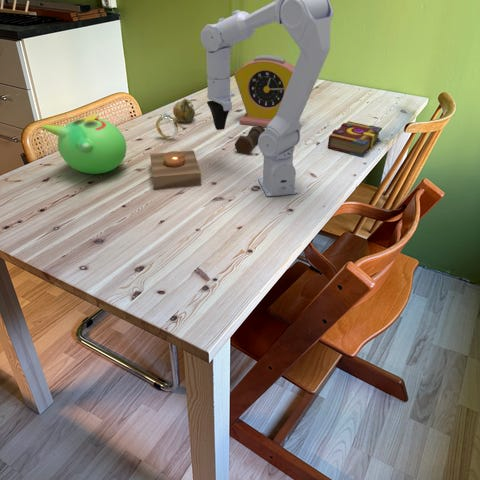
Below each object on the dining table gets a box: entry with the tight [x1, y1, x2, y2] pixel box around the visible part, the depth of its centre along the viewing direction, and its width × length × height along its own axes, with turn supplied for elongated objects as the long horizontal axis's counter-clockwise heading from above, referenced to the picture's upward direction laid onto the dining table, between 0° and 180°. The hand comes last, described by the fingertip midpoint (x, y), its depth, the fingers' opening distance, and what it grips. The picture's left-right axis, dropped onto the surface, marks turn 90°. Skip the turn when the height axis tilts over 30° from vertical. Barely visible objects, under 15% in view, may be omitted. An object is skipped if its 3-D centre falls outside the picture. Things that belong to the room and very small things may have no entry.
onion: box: [172, 98, 196, 123], centre depth 149 cm, size 8×8×8 cm
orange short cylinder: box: [163, 150, 185, 168], centre depth 117 cm, size 6×6×5 cm
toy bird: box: [41, 113, 127, 175], centre depth 116 cm, size 18×17×15 cm
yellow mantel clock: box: [233, 54, 295, 128], centre depth 144 cm, size 22×9×22 cm, turn 71°
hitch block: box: [149, 149, 202, 190], centre depth 117 cm, size 14×12×4 cm
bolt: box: [234, 126, 266, 156], centre depth 134 cm, size 6×5×15 cm
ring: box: [155, 113, 179, 141], centre depth 136 cm, size 7×3×8 cm, turn 66°
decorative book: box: [327, 120, 383, 158], centre depth 135 cm, size 11×16×5 cm
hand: (219, 128), depth 118 cm, fingers closed
